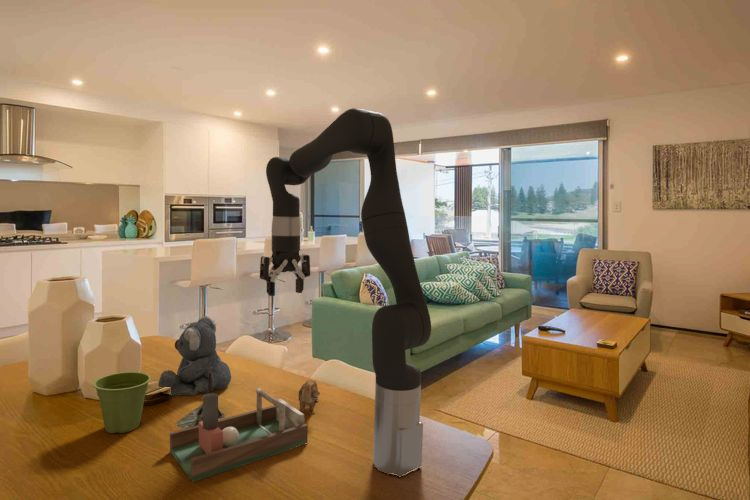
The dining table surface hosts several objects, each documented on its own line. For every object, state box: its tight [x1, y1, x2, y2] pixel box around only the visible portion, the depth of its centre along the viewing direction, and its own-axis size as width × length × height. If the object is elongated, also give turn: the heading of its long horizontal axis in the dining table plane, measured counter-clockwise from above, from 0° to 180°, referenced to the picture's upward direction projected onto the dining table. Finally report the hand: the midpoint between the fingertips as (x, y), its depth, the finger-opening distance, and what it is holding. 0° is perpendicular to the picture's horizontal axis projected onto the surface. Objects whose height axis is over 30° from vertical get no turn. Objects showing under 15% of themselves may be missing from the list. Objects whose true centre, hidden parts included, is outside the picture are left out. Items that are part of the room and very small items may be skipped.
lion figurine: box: [298, 378, 321, 415], centre depth 124 cm, size 15×5×9 cm, turn 8°
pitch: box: [169, 387, 309, 483], centre depth 103 cm, size 14×25×10 cm, turn 130°
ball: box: [222, 427, 239, 447], centre depth 102 cm, size 4×4×4 cm
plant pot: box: [92, 371, 152, 434], centre depth 111 cm, size 12×12×11 cm
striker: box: [199, 392, 223, 454], centre depth 99 cm, size 7×3×12 cm, turn 40°
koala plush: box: [157, 315, 232, 397], centre depth 137 cm, size 17×18×20 cm
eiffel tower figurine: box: [175, 369, 226, 429], centre depth 119 cm, size 15×10×13 cm
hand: (285, 294), depth 129 cm, fingers open, 8 cm apart
